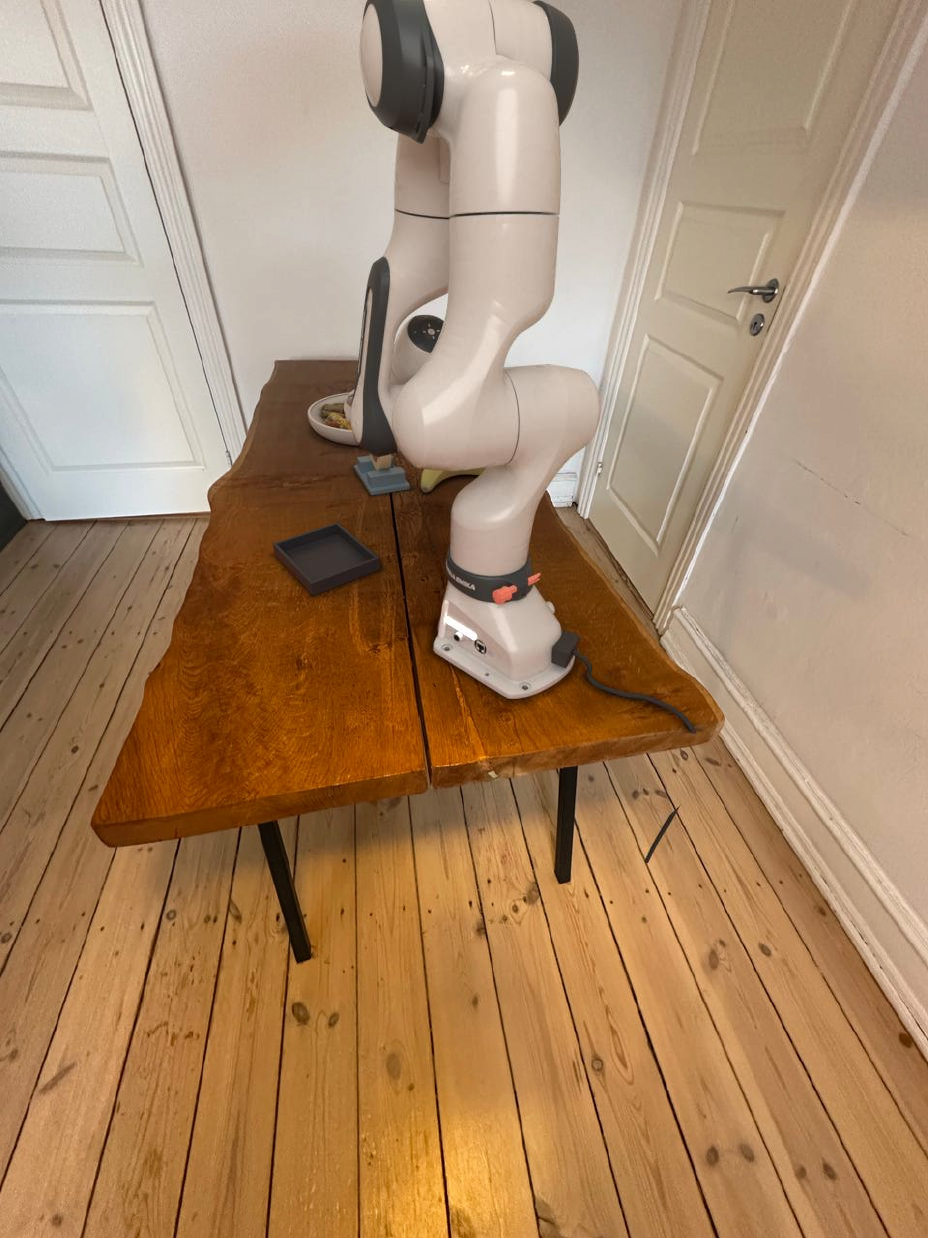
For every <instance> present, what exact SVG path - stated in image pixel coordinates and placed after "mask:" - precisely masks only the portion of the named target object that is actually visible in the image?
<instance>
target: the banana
mask: <svg viewBox="0 0 928 1238" xmlns="http://www.w3.org/2000/svg"><path fill="white" fill-rule="evenodd" d="M485 469H486V467H483V468H476V469H468V470H461V471H440V470H429V469H422V472H421V477H420V489H421V491H422V492H423V493H429V492H431V491H432V490H433V489H435V487H436V486H437V485H438V484H439V483H441V482H442V481H444V480H446V479H449V478H451V477H455V476H459V475H460V476H463V475H472V476H473V475H474V476H480V475H481V474H482V472H483V471H484V470H485Z"/></svg>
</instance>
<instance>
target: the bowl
mask: <svg viewBox="0 0 928 1238" xmlns="http://www.w3.org/2000/svg"><path fill="white" fill-rule="evenodd" d="M350 393H351V391H350V392H344V393H338V394H333V395H329V396H326V397H324V398H321V399H319V400H317V401H315V402H313V404H311V405H310V406H309V408H308V410H307V417H308V421H309V423H310V426H311V427H312V429H313V430H314V431H315V432H316V433H317V434H318V435H319V436H321V437H323V438H325V439H326V440H329V441H331V442H334V443H338V444H342V445H348V446H358V447H360V446H359V445H358V444H357V443H356V441H355V439H354V436H353V432H352V429H351V424H349V423H348V422H347V420H346V416H345V412H344V404H345V401H346V399H347V396H348V395H349V394H350Z"/></svg>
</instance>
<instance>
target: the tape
mask: <svg viewBox="0 0 928 1238" xmlns="http://www.w3.org/2000/svg"><path fill="white" fill-rule="evenodd" d="M391 455H392V454H390V455H386V456H381V457H376V456H374V455H372V454H370V453H369V456H371V459H372V462H373V465H374V467H375V469H376V470H382V469H389V468H390V466H391Z"/></svg>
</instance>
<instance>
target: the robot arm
mask: <svg viewBox="0 0 928 1238" xmlns="http://www.w3.org/2000/svg"><path fill="white" fill-rule="evenodd" d="M361 23H362V24H361V29H360V34H359V35H360V36H359V51H358V53H359V54H358V57H359V67H360V74H361V78H362V82H363V83H362V84H363V86H364V91H365V97H366V100H367V102H368V106H369V108H370V110H371V112H372V113H373V114H374V115H375V116H376V118H377V119H378V121H379V122H380V123H381V125H383V126H384V127H386V128H388V129H389V130H391V131H394V132H395V133H397V142H396V151H395V152H396V153H395V163H394V178H393V179H394V181H393V223H392V228H391V229H392V230H391V234H390V238H389V241H388V243H387V246H386V248H385V251H384V253H383V254H382V256H381V257H380V258H378V259H377V260H376V261H374V262H373V263H372V265H371V268H370V270H369V273H368V279H367V283H366V290H365V295H364V301H363V302H364V303H363V312H362V318H361V320H362V321H361V331H360V332H361V333H360V340H359V351H358V361H357V368H356V369H357V370H356V379H355V384H354V385H355V386H354V389H353V390H352V391H350V392H351V393H350V392H349V393H350V394H349V395H348V396H347V399H346V401H345V404H344V412H345V416H346V420H347V422H348V423H349V424H351V429H352V432H353V436H354V439H355V441H356V443H357V444H358V445H359V446H358V447H360V448H361V449H363V450H364V451H366V452H367V453H369V455H370V454H372V455H374V456H376V457H381V456H386V455H390V454H391V455H393V454H398V453H400V452H401V454H402V456H403V457H404V458H405V459H406V461H408V462H409V463H410V464H411V465H412V466H413V467H415V468H416V469H421V470H424V469H429V470H440V471H461V470H468V469H476V468H483V467H486V469H485V470H484V471H483V472H482V474H481V475H477V477H476V478H475V479H473V480H472V481H471V482H469V483H468V484H467V485H465V486H464V487H463V488H462V489H460V491H459V492H458V494H456V496H455V498H454V501H453V503H452V505H451V508H450V509H451V510H450V537H449V543H450V545H449V547H448V549H447V552H446V559H445V568H446V570H445V571H446V572H445V574H446V578H447V584H446V588H445V593H444V596H443V600H442V603H441V612H440V617H439V620H438V622H437V636H436V637H435V639H434V641H433V645H432V646H433V647H432V651H433V652H434V653H435V655H438V656H439V657H441V658H442V659H444V660H445V661H447V662H449V663H450V664H452V665H453V666H455V667H456V668H458V669H460V670H462V671H463V672H465V673H466V674H468V676H471V677H472V678H474V679H475V680H477V681H478V682H480V683H482V684H483V685H485V686H487V688H489V689H492V691H494V692H496V693H498V694H499V695H501V696H502V697H503V698H506V699H509V700H516V699H518V700H519V699H523V698H528V697H532V696H535V695H537V694H539V693H542V692H543V691H545V690H547V689H549V688H550V687H553V686H554V685H556V684H557V683H559V682H560V681H561V680H562V679H564V678H565V676H567V675H568V674H569V673H570V671H571V670H572V669H573V666H574V664H575V660H576V658H577V659H579V660H580V661H581V662H583V664H584V665H585V666H586V670H585V678H586V680H587V681H588V682H589V683H590V684H591V685H592V686H593V687H595V688H597V689H599V690H601V691H604V692H607V693H610V694H613V695H614V696H619V697H622V698H627V699H636V700H643V701H646V702H649V703H651V704H654V705H656V706H659V707H661V708H663V709H665V710H667V711H669V712H671V713H672V714H673V715H675V716H676V717H678V718H679V719H680V720H681V721H682V722H683V723H684V725H685V726H686V727H687V729H688V730H689V732H690V733H691V734H697V731H696V728H695V727H694V725H693V724H692V722H691V721H690V719H689V718H688V717H687V716H686V715H685V714H684V713H683V712H681V711H680V710H679V709H677V708H675V707H674V706H672V705H670V704H668V703H666V702H664V701H662V700H659V699H657V698H655V697H652V696H649V695H646V694H643V693H636V692H635V693H634V692H628V691H627V692H626V691H622V690H619V689H615V688H613V687H610V686H606V685H603V684H601V683H600V682H597V681H596V680H595V679H594V678H593V677H592V676H591V675H592V672H593V665H592V662H590V659H588V658H587V657H586V656H584V655H583V654H582V653H580V652H579V651H578V646H579V643H580V638H581V636H580V635H579V634H577V633H573V632H571V631H568V630H564V629H563V630H562V626H561V623H560V622H559V620H558V619H557V617H556V616H555V612H556V610H555V606H554V604H553V603H552V602H551V601H550V600H548V601H546V600H545V598H544V597H543V595H542V594H541V592H540V591H539V590H538V589H539V588H537V586H536V585H535V583H537V582H538V581H540V580H541V578H540V576H541V575H542V574H541V572H538V573H535V574H534V570H533V566H532V560H531V555H530V553H529V550H530V543H531V536H532V531H533V526H534V521H535V517H536V513H537V510H538V507H539V504H540V502H541V501H542V498H543V497H544V495H545V493H546V491H547V489H548V488H549V486H550V485H551V483H552V481H553V480H554V479H555V477H556V476H557V475H558V473H559V472H560V471H561V469H562V468H563V467H564V466H565V465H566V463H568V461H570V460H571V458H572V457H574V456H575V455H576V454H577V453H578V452H580V451H581V450H582V449H584V448H585V447H587V446H588V445H589V444H590V443H591V441H592V439H593V438H594V436H595V434H596V432H597V430H598V427H599V424H600V421H601V416H602V415H601V413H602V402H601V397H600V393H599V389H598V387H597V385H596V383H595V382H594V380H593V378H592V377H591V375H590V374H589V373H588V372H586V371H585V370H583V369H579V368H576V367H575V368H574V367H570V366H565V365H558V364H551V363H542V364H530V365H527V364H526V365H515V366H505V364H506V359H507V356H508V354H509V351H510V350H511V347H512V346H513V344H514V343H515V342H516V340H517V339H518V337H520V335H521V334H522V333H524V332H525V331H527V330H528V329H530V328H531V327H533V326H534V325H536V324H537V323H538V322H540V321H541V320H542V319H543V318H544V316H545V315H546V313H548V310H549V309H550V307H551V305H552V302H553V299H554V297H555V289H556V288H555V287H556V273H557V259H558V256H557V255H558V245H559V229H560V215H561V196H562V154H561V153H562V152H561V150H562V148H561V134H560V127H561V126H562V125H563V123H564V122H565V120H566V119H567V117H568V115H569V113H570V110H571V109H572V105H573V102H574V99H575V95H576V92H577V87H578V81H579V71H580V51H579V44H578V40H577V39H578V38H577V33H576V29H575V26H574V24H573V22H572V21H571V19H570V17H569V16H567V15H566V14H565V13H564V12H563V11H561V10H559V9H558V8H557V7H555V6H553V5H552V4H550V3H547V2H546V1H543V0H534V1H529V0H366V2H365V5H364V9H363V15H362V22H361ZM446 295H447V302H446V303H447V304H446V310H445V315H444V320H443V319H442V318H440V317H438V316H436V315H432V314H418V315H414V316H412V317H410V318H409V319H408V320H407V321H406V322H405V323H404V324H403V322H404V321H405V320H406V319H407V318H408V317H409V316H410V315H411V314H413V313H414V312H415V311H417V310H419V309H420V308H422V307H423V306H425V305H427V304H429V303H430V302H433V301H435V300H437V299H439V298H441V297H443V296H446ZM402 324H403V326H402V328H401V329H400V330H399V328H400V327H401V325H402ZM398 330H399V332H398ZM397 333H398V335H397ZM396 335H397V336H396ZM680 807H681V805H679V806H678V807H676V808H675V809H674V810H673V811H672V812H671V813H670V814H669V815H668V816H667V818H666V820H665V822H664V824H663V825H662V827H661V829H660V830H659V832H658V833H657V835H656V837H655V839H654V841H653V842H652V844H651V846H650V848H649V850H648V852H647V854H646V856H645V858H644V863H645V864H649V863H650V860H651V859H652V856H653V854H654V853H655V851H656V848H657V847H658V845H659V843H660V841H661V840H662V838H663V836H665V834H666V832H667V830H668V828H669V827H670V824H671V823H672V821H673V820H674V818H675V817H676V815H677V813H678V811H679V809H680Z"/></svg>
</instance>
